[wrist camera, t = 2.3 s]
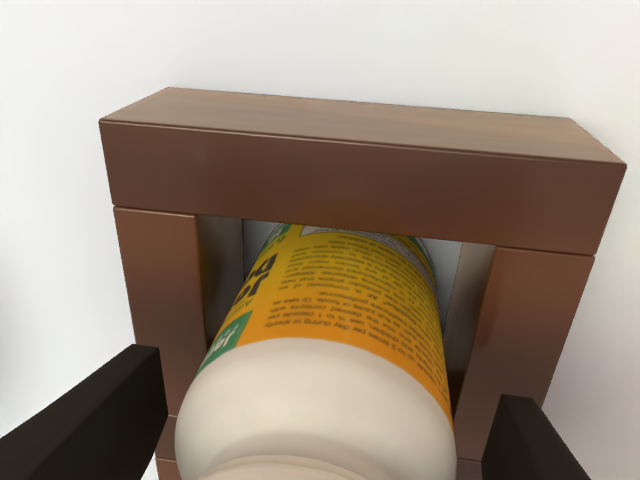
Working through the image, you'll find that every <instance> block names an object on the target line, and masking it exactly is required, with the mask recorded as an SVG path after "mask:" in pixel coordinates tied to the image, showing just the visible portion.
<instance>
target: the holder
mask: <svg viewBox="0 0 640 480" xmlns="http://www.w3.org/2000/svg"><path fill="white" fill-rule="evenodd" d="M99 128H100V134H101V140H102V146H103V152H104V158H105V164H106V169H107V175H108V181H109V187H110V193H111V199H112V204H113V205H115V206H114V207H113V212H114V218H115V223H116V229H117V235H118V241H119V247H120V253H121V259H122V265H123V271H124V276H125V282H126V288H127V294H128V300H129V306H130V312H131V318H132V324H133V329H134V335H135V341H136V344H137V345H144V346H152V347H159V351H160V358H161V365H162V372H163V379H164V386H165V393H166V400H167V407H168V414H169V415H168V418H167V421H166V423H165V426H164V429H163V431H162V434H161V436H160V439H159V442H158V444H157V446H156V449H155V451H154V452H155V456H156V457H155V460H156V466H157V472H158V478H159V480H182V479H181V476H180V473H179V470H178V466H177V462H176V455H175V428H176V422H177V418H178V414H179V411H180V408H181V405H182V403H183V400H184V398H185V395H186V393H187V391H188V389H189V387H190V385H191V383H192V381H193V380H194V378H195V376H196V374H197V372H198V370H199V368H200V366H201V364H202V362H203V360H204V358H205V356H206V355H207V353H208V351H209V349H210V347H211V345H212V343H213V341H214V339H215V337H216V336H217V334H218V332H219V330H220V328H221V326H222V324H223V323H224V321H225V319H226V317H227V315H228V313H229V311H230V310H231V308H232V306H233V304H234V302H235V300H236V298H237V296H238V294H239V292H240V290H241V288H242V286H243V285H244V268H243V238H242V219H248V220H258V221H267V222H277V223H287V224H296V225H306V226H315V227H325V228H334V229H344V230H353V231H363V232H372V233H382V234H392V235H401V236H411V237H420V238H430V239H439V240H449V241H458V242H463V243H462V248H461V253H460V258H459V263H458V267H457V272H456V277H455V282H454V287H453V291H452V296H451V301H450V306H449V311H448V316H447V320H446V325H445V330H444V335H443V340H442V342H443V350H444V357H445V365H446V374H447V382H448V389H449V397H450V405H451V413H452V420H453V427H454V435H455V446H456V456H457V468H456V480H482V470H481V460H482V456H483V453H484V450H485V446H486V443H487V440H488V436H489V433H490V430H491V426H492V423H493V420H494V416H495V413H496V410H497V406H498V403H499V400H500V396H501V394H508V395H515V396H523V397H530V398H533V399H534V400H535V401H536V403H537V404H538V405H539V407H540V408H542V405H543V403H544V400H545V397H546V394H547V391H548V389H549V386H550V383H551V380H552V377H553V375H554V372H555V369H556V366H557V363H558V361H559V358H560V355H561V352H562V350H563V347H564V344H565V341H566V338H567V336H568V333H569V330H570V327H571V324H572V322H573V319H574V316H575V313H576V310H577V308H578V305H579V302H580V299H581V297H582V294H583V291H584V288H585V285H586V283H587V280H588V277H589V274H590V271H591V269H592V266H593V263H594V260H595V256H594V255H595V254H596V253H597V250H598V247H599V244H600V242H601V239H602V236H603V233H604V230H605V228H606V225H607V222H608V219H609V216H610V214H611V211H612V208H613V205H614V202H615V200H616V197H617V194H618V191H619V188H620V186H621V183H622V180H623V177H624V174H625V172H626V169H627V164H626V163H625V162H624V161H622V160H621V159H620V158H619V157H617V156H616V155H615V154H614V153H613V152H611V151H610V150H609V149H608V148H606V147H605V146H604V145H603V144H601V143H600V142H599V141H598V140H597V139H595V138H594V137H593V136H592V135H590V134H589V133H588V132H587V131H585V130H584V129H583V128H582V127H580V126H579V125H578V124H577V123H576V122H574V121H573V120H572V119H570V118H558V117H545V116H532V115H519V114H506V113H493V112H480V111H467V110H454V109H441V108H428V107H416V106H403V105H390V104H377V103H364V102H351V101H338V100H325V99H312V98H299V97H286V96H273V95H260V94H247V93H234V92H221V91H208V90H195V89H182V88H169V87H168V88H165V89H163V90H161V91H159V92H157V93H154V94H152V95H150V96H148V97H146V98H144V99H141V100H139V101H137V102H135V103H133V104H131V105H128V106H126V107H124V108H122V109H120V110H118V111H115V112H113V113H111V114H109V115H107V116H105V117H102V118H100V119H99Z"/></svg>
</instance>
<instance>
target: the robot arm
mask: <svg viewBox="0 0 640 480" xmlns="http://www.w3.org/2000/svg"><path fill="white" fill-rule="evenodd" d="M168 415H169V414H168V407H167V400H166V393H165V386H164V379H163V372H162V365H161V358H160V351H159V347H152V346H144V345H137V344H131V345H130V346H129V347H127V348H126V349H124V350H123V351H122V352H120V353H119V354H118V355H116V356H115V357H114V358H112V359H111V360H110V361H108V362H107V363H106V364H104V365H103V366H102V367H100V368H99V369H98V370H96V371H95V372H94V373H92V374H91V375H90V376H88V377H87V378H86V379H84V380H83V381H82V382H80V383H79V384H78V385H76V386H75V387H73V388H72V389H71V390H69V391H68V392H67V393H65V394H64V395H62V396H61V397H60V398H58V399H57V400H56V401H54V402H53V403H51V404H50V405H49V406H47V407H46V408H45V409H43V410H42V411H40V412H39V413H37V414H36V415H34V416H33V417H31V418H30V419H28V420H27V421H25V422H24V423H23V424H21V425H20V426H18V427H17V428H15V429H14V430H12V431H11V432H9V433H8V434H6V435H5V436H3V437H2V438H0V480H141V478H142V476H143V474H144V472H145V470H146V469H147V467H148V465H149V463H150V461H151V459H152V456H153V454H154V451H155V449H156V446H157V444H158V442H159V439H160V436H161V434H162V431H163V429H164V426H165V423H166V421H167V418H168ZM481 470H482V480H591V479H590V478H589V476H588V475H587V474H586V472H585V471H584V470H583V468H582V467H581V465H580V464H579V463H578V461H577V460H576V458H575V457H574V456H573V454H572V453H571V451H570V450H569V449H568V447H567V446H566V444H565V443H564V442H563V440H562V439H561V437H560V436H559V434H558V433H557V431H556V430H555V429H554V427H553V426H552V424H551V423H550V421H549V420H548V418H547V417H546V416H545V414H544V413H543V411H542V410H541V408H540V407H539V405H538V404H537V403H536V401H535V400H534V399H533V398H530V397H523V396H515V395H508V394H501V396H500V400H499V403H498V406H497V410H496V413H495V416H494V420H493V423H492V426H491V430H490V433H489V436H488V440H487V443H486V446H485V450H484V453H483V456H482V460H481Z"/></svg>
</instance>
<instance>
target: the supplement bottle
mask: <svg viewBox="0 0 640 480" xmlns="http://www.w3.org/2000/svg"><path fill="white" fill-rule="evenodd" d="M175 455H176V462H177V466H178V470H179V473H180V476H181V479H182V480H456V468H457V456H456V446H455V435H454V427H453V420H452V413H451V405H450V397H449V389H448V382H447V374H446V365H445V357H444V350H443V342H442V334H441V324H440V316H439V306H438V299H437V290H436V283H435V276H434V271H433V266H432V263H431V260H430V258H429V256H428V253H427V251H426V249H425V247H424V245H423V244H422V242H421V241H420V239H419V238H418V237H411V236H401V235H392V234H382V233H372V232H363V231H353V230H344V229H334V228H325V227H315V226H306V225H296V224H287V223H280V224H279V225H278V226H277V227H276V228H275V229H274V230H273V232H272V233H271V234H270V236H269V237H268V239H267V241H266V243H265V244H264V246H263V248H262V250H261V252H260V254H259V256H258V258H257V260H256V262H255V264H254V266H253V267H252V269H251V271H250V273H249V275H248V277H247V279H246V281H245V283H244V285H243V286H242V288H241V290H240V292H239V294H238V296H237V298H236V300H235V302H234V304H233V306H232V308H231V310H230V311H229V313H228V315H227V317H226V319H225V321H224V323H223V324H222V326H221V328H220V330H219V332H218V334H217V336H216V337H215V339H214V341H213V343H212V345H211V347H210V349H209V351H208V353H207V355H206V356H205V358H204V360H203V362H202V364H201V366H200V368H199V370H198V372H197V374H196V376H195V378H194V380H193V381H192V383H191V385H190V387H189V389H188V391H187V393H186V395H185V398H184V400H183V403H182V405H181V408H180V411H179V414H178V418H177V422H176V428H175Z"/></svg>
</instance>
